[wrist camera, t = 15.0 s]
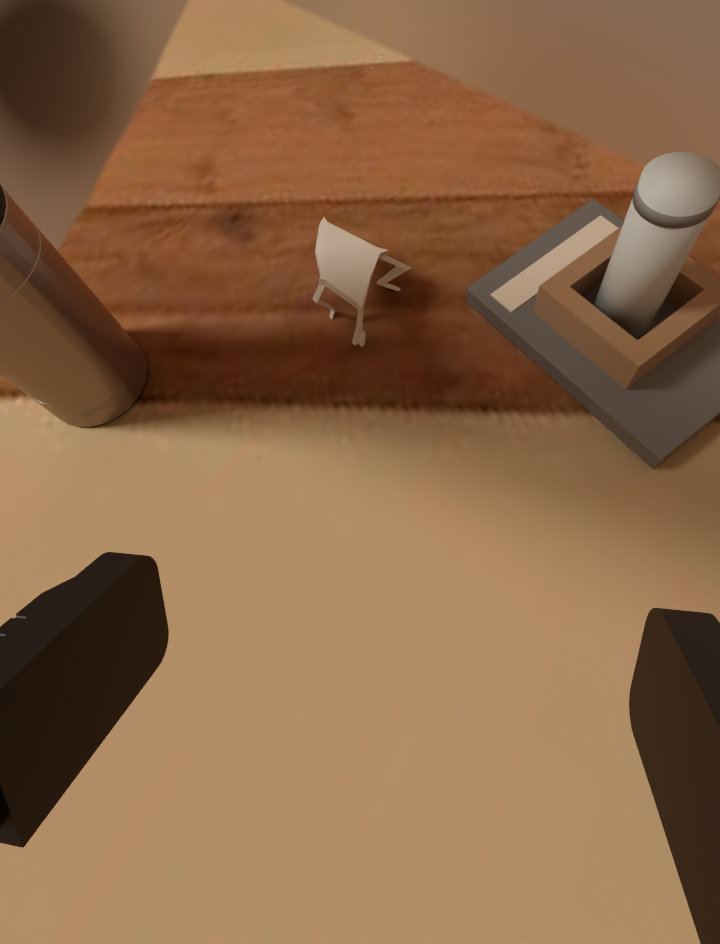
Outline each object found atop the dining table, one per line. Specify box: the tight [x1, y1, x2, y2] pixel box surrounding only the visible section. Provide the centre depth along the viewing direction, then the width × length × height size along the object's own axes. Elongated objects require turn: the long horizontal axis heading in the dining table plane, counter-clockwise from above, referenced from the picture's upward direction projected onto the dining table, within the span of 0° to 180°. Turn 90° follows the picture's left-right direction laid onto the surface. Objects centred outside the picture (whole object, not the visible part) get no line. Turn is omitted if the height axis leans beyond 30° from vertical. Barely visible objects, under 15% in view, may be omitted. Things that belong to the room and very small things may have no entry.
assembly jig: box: [466, 199, 720, 468], centre depth 42 cm, size 20×14×4 cm
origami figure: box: [313, 218, 412, 347], centre depth 47 cm, size 12×8×5 cm
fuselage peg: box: [594, 152, 720, 338], centre depth 37 cm, size 4×4×12 cm
